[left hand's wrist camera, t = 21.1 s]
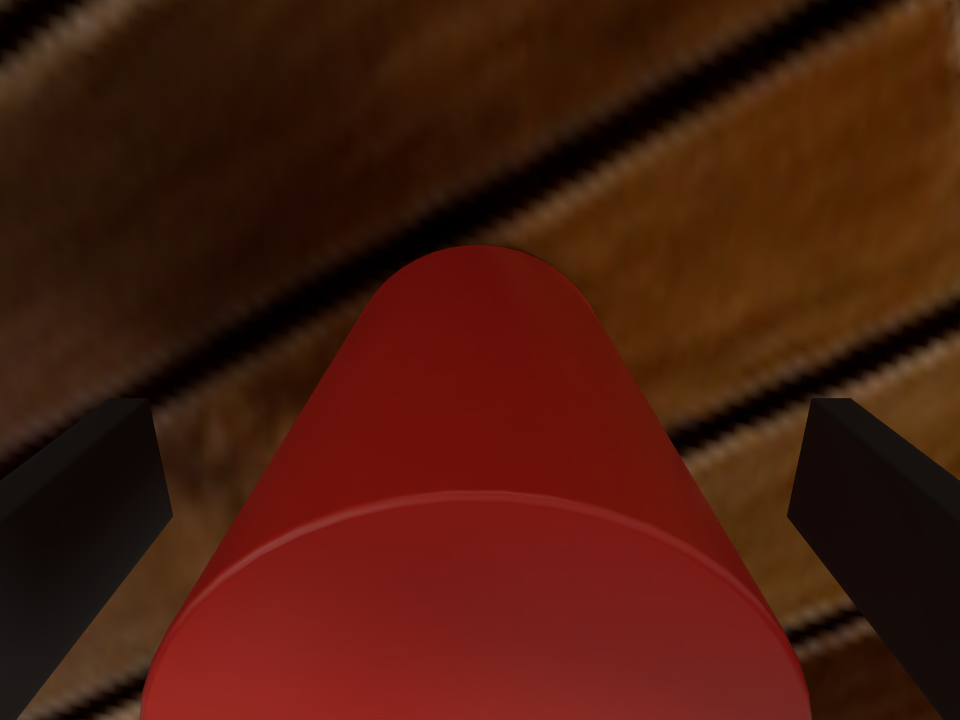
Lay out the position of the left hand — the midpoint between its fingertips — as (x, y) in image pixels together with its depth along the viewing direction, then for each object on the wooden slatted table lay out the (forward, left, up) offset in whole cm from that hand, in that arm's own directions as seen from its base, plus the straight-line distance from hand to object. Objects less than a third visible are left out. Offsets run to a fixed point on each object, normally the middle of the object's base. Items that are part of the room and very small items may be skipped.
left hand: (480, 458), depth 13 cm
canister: (0, 0, -5) cm, 5 cm away
